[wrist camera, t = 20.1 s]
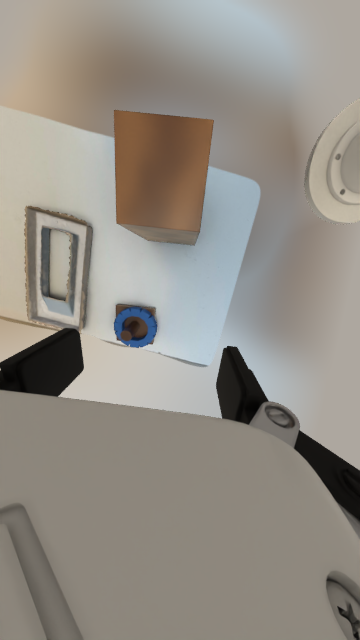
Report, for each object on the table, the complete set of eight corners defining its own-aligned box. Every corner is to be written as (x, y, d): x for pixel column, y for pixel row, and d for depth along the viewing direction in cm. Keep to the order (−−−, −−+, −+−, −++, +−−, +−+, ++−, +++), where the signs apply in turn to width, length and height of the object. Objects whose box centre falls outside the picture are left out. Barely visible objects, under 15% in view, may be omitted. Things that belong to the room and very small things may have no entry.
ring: (158, 309, 38) (156, 311, 36) (155, 346, 41) (154, 349, 40) (116, 304, 38) (113, 306, 36) (117, 341, 41) (114, 344, 40)
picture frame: (37, 317, 42) (26, 321, 39) (32, 205, 34) (18, 200, 31) (89, 330, 42) (82, 334, 40) (96, 222, 34) (88, 219, 31)
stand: (201, 188, 31) (213, 119, 16) (194, 245, 35) (199, 232, 20) (149, 182, 32) (113, 109, 16) (147, 240, 35) (116, 223, 20)
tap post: (155, 308, 40) (148, 317, 33) (153, 341, 43) (146, 357, 35) (118, 303, 40) (103, 312, 33) (119, 337, 43) (105, 352, 36)
